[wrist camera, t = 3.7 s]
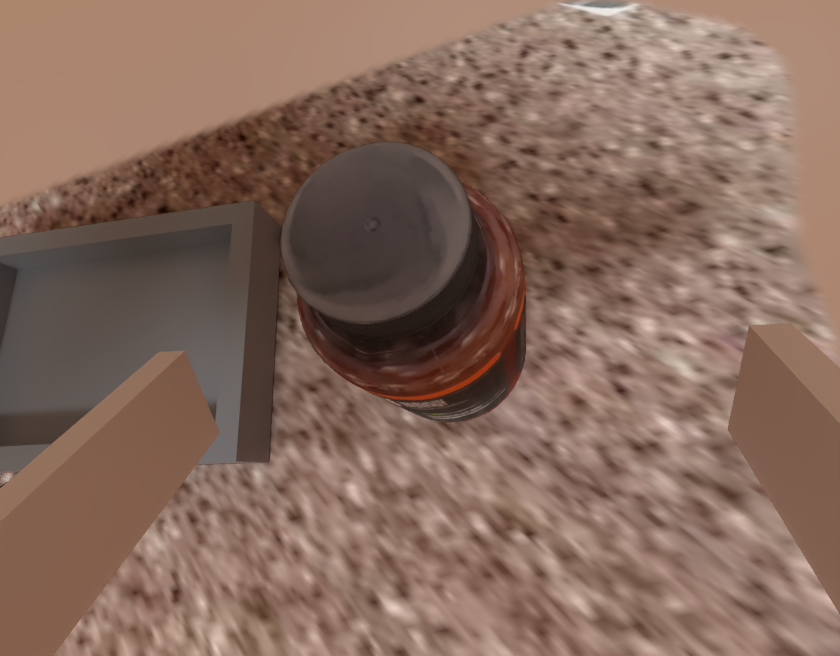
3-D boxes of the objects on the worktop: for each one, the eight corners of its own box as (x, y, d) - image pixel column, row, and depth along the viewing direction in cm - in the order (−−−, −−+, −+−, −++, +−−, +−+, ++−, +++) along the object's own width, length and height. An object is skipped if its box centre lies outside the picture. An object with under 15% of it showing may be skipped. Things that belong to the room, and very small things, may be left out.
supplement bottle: (473, 259, 21) (423, 46, 10) (556, 371, 19) (600, 250, 8) (358, 334, 21) (194, 199, 11) (429, 454, 19) (314, 437, 9)
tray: (-23, 474, 23) (-85, 474, 21) (23, 261, 26) (-26, 241, 24) (269, 462, 20) (235, 461, 18) (281, 227, 24) (254, 200, 21)
